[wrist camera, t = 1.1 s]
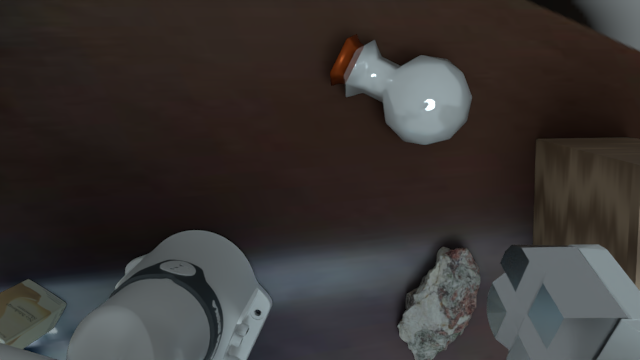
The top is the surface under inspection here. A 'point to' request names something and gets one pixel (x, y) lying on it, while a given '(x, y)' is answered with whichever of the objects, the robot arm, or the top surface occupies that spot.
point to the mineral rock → (440, 304)
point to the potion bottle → (407, 91)
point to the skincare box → (27, 313)
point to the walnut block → (590, 196)
